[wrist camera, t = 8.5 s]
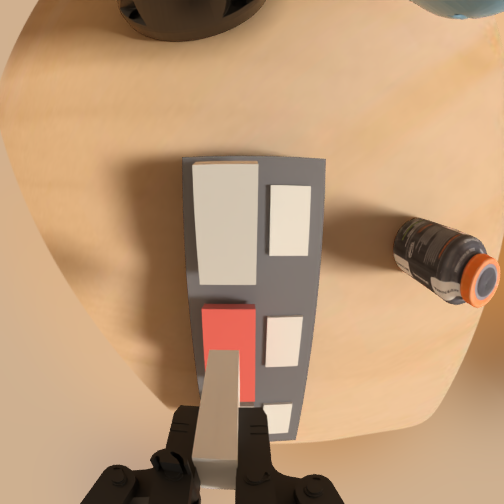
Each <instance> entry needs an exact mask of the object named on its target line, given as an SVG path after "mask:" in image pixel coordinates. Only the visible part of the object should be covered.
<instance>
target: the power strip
mask: <svg viewBox="0 0 504 504" xmlns="http://www.w3.org/2000/svg"><path fill="white" fill-rule="evenodd" d="M204 161H258V217H257V264H256V285H200V280H199V269H198V257H197V244H196V230H195V214H194V195H193V172H192V165H193V164H194V163H195V162H204ZM325 165H326V159H318V158H302V157H278V156H205V157H182V179H183V219H184V242H185V260H186V275H187V288H188V300H189V311H190V321H191V331H192V340H193V349H194V357H195V365H196V373H197V380H198V387H199V394H200V400H201V395H202V389H203V383H204V377H205V361H204V345H203V328H202V307H203V305H204V304H255V308H256V335H255V402H254V407H262V409H263V410H264V412H265V413H266V415H267V419H268V431H269V441H286V440H296V435H297V430H298V425H299V420H300V415H301V409H302V404H303V398H304V392H305V386H306V380H307V374H308V367H309V361H310V354H311V346H312V339H313V331H314V323H315V315H316V306H317V296H318V286H319V276H320V264H321V251H322V237H323V220H324V199H325Z"/></svg>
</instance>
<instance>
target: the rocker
mask: <svg viewBox="0 0 504 504" xmlns="http://www.w3.org/2000/svg"><path fill="white" fill-rule="evenodd" d="M192 172H193V195H194V214H195V230H196V244H197V257H198V269H199V280H200V285H256V264H257V217H258V161H204V162H195V163H194V164H193V165H192Z"/></svg>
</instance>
